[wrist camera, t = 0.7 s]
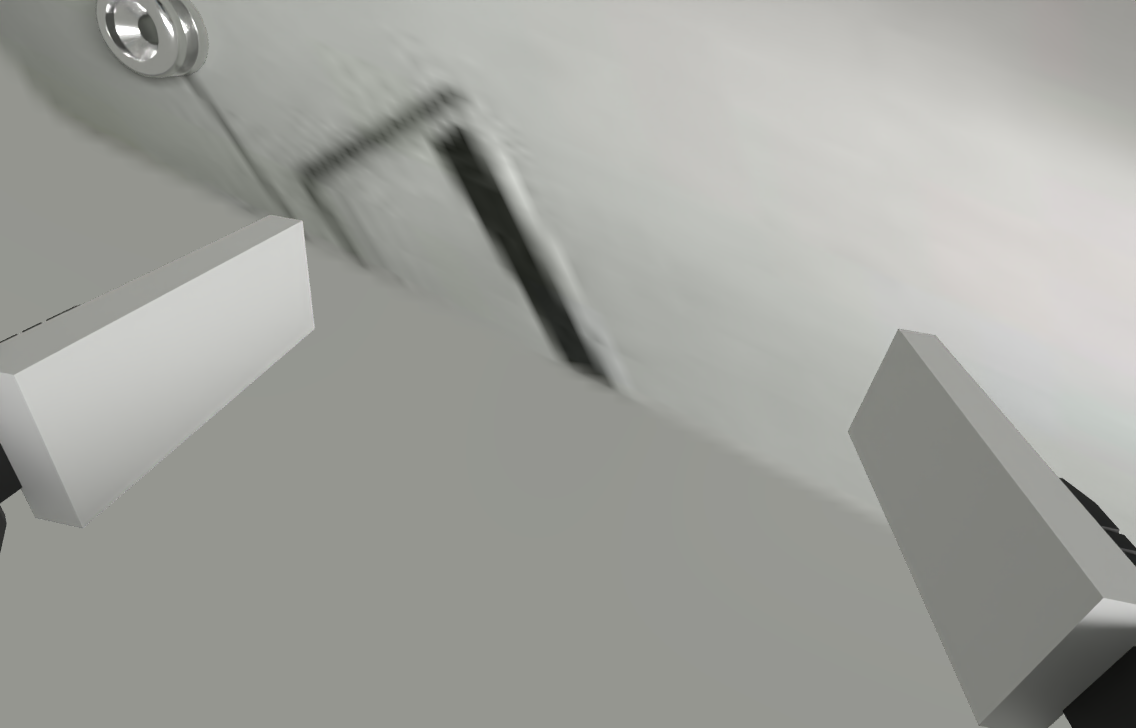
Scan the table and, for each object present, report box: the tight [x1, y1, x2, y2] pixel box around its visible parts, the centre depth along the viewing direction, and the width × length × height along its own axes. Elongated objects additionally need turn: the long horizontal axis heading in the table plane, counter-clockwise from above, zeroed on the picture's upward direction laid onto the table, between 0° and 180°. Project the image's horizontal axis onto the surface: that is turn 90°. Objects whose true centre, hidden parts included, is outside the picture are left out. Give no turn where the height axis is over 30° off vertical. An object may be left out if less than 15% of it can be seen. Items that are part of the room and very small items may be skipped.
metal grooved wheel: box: [96, 0, 209, 78], centre depth 34 cm, size 5×3×5 cm
